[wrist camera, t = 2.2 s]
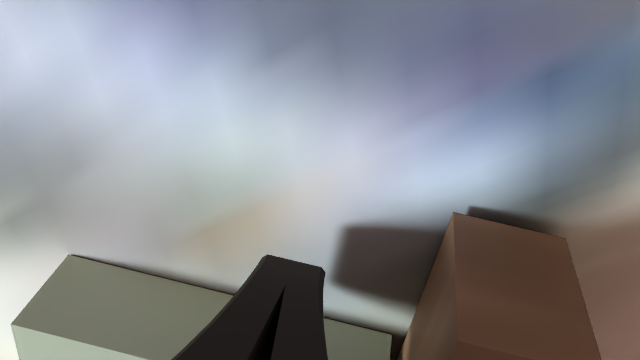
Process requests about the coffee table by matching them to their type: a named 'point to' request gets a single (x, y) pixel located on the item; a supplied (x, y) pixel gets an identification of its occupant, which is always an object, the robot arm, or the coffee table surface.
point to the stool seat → (141, 318)
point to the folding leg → (500, 298)
